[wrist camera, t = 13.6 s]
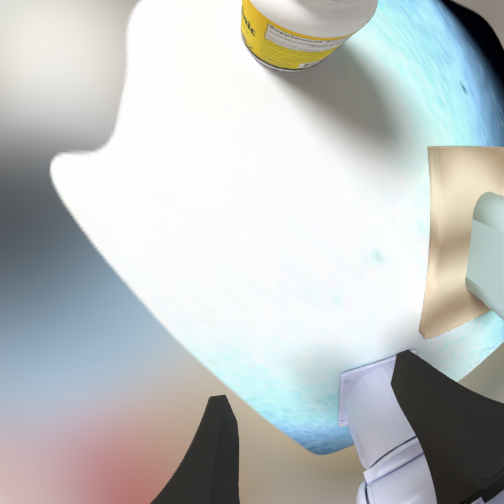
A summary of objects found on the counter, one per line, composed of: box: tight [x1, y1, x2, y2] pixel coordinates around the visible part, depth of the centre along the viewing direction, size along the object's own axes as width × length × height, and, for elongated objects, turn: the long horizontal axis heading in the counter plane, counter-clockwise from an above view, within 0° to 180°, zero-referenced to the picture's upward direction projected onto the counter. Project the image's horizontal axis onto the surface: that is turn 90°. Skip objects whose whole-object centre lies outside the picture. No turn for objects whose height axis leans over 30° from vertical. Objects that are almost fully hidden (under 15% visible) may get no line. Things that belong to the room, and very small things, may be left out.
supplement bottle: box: [241, 0, 378, 72], centre depth 8 cm, size 5×5×10 cm
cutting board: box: [419, 146, 504, 340], centre depth 18 cm, size 16×11×2 cm
